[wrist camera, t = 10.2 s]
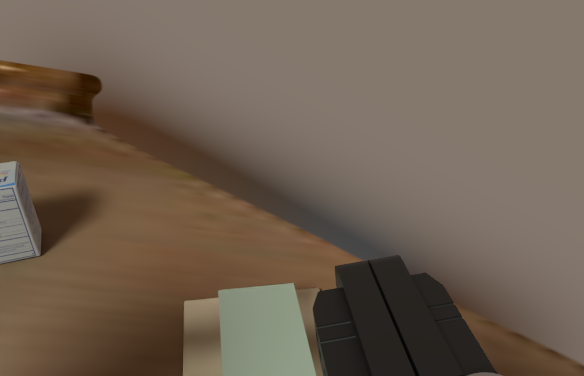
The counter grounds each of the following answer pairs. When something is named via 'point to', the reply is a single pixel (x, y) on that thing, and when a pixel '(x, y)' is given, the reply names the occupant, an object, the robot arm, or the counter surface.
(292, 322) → the sage block
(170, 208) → the counter surface
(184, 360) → the beech board
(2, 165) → the medicine box
